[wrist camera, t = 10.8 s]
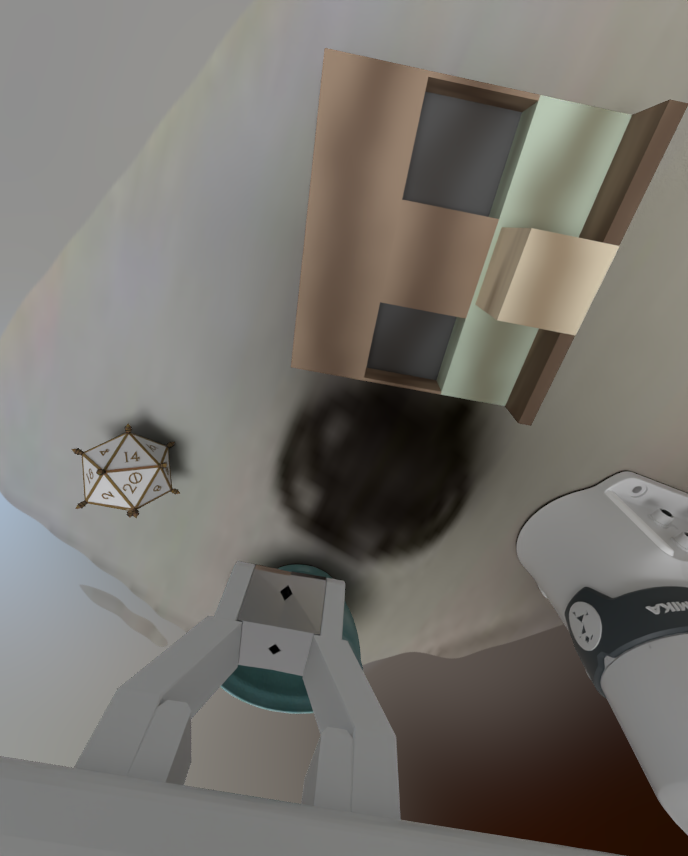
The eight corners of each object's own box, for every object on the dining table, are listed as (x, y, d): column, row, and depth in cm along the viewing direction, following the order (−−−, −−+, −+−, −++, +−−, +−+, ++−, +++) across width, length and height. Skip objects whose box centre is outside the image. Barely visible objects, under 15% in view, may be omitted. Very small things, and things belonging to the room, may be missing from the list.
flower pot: (359, 629, 51) (358, 721, 42) (245, 620, 52) (218, 709, 42) (368, 548, 43) (369, 638, 34) (234, 538, 44) (198, 625, 34)
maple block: (573, 242, 24) (619, 246, 20) (541, 317, 27) (575, 335, 22) (501, 227, 24) (531, 228, 20) (475, 304, 27) (496, 320, 22)
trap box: (617, 130, 24) (688, 103, 18) (504, 393, 33) (530, 425, 28) (329, 67, 23) (318, 21, 18) (296, 355, 32) (283, 381, 27)
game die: (158, 416, 40) (105, 397, 30) (211, 471, 40) (174, 470, 30) (94, 474, 39) (16, 473, 29) (147, 531, 39) (87, 550, 29)
